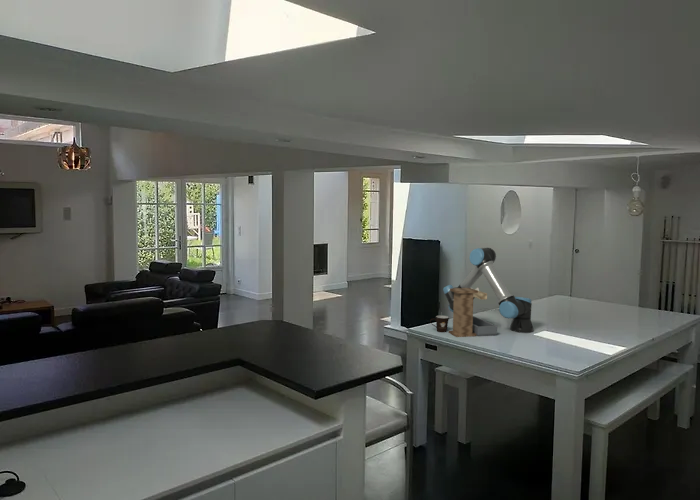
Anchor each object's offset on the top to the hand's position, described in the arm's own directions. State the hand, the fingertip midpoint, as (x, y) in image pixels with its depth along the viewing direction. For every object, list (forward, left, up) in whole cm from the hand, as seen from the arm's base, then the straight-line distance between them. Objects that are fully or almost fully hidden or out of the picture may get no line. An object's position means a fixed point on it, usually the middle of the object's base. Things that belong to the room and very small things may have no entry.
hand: (475, 289), depth 365 cm
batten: (0, +2, -5) cm, 5 cm away
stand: (+15, +12, -28) cm, 34 cm away
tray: (0, +2, -28) cm, 28 cm away
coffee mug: (+26, +1, -28) cm, 38 cm away
